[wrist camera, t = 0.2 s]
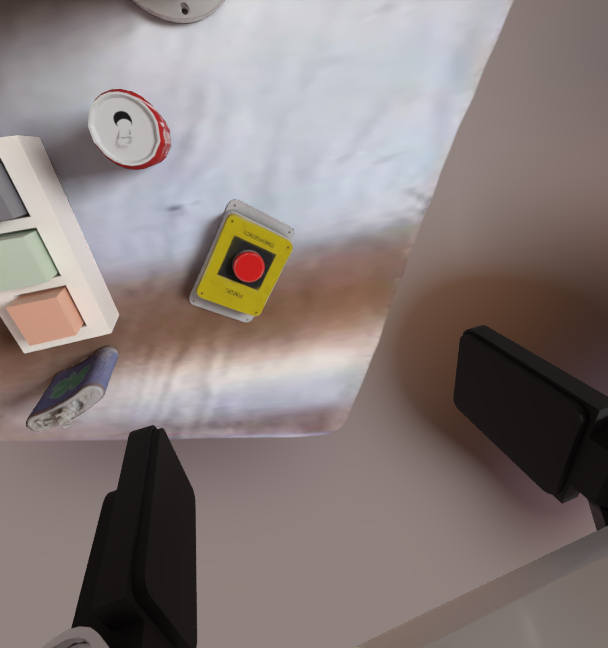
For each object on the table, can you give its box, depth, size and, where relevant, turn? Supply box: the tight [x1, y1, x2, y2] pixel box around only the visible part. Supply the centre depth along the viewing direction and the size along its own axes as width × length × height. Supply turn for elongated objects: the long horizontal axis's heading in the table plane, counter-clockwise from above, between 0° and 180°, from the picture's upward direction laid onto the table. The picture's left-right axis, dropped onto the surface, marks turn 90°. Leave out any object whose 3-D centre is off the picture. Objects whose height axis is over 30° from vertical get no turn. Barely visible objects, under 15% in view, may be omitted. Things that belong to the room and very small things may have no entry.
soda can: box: [88, 89, 171, 170], centre depth 30 cm, size 6×6×12 cm
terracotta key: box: [6, 285, 85, 346], centre depth 35 cm, size 4×4×4 cm
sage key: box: [0, 229, 59, 292], centre depth 32 cm, size 4×4×4 cm
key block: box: [0, 135, 119, 354], centre depth 35 cm, size 20×9×5 cm, turn 7°
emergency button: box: [189, 199, 294, 322], centre depth 43 cm, size 9×4×15 cm
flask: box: [26, 346, 119, 432], centre depth 40 cm, size 9×3×11 cm, turn 115°
